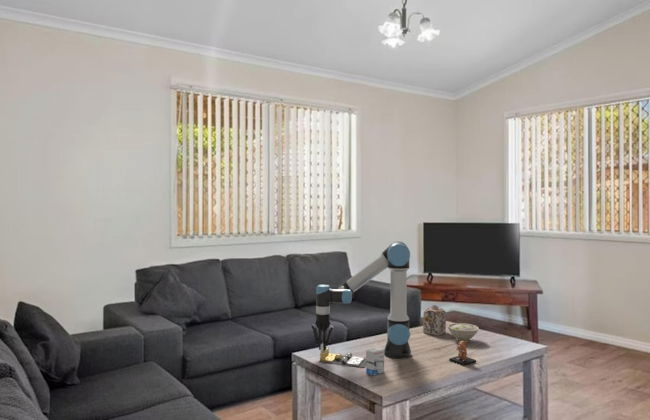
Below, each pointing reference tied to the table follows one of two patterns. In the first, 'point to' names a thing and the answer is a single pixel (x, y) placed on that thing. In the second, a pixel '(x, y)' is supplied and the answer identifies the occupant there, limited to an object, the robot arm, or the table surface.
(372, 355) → the ink box
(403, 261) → the robot arm
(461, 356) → the figurine
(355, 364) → the fixed leaf
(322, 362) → the grey two-tone fixture
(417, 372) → the table surface
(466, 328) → the bowl
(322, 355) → the loose leaf
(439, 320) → the decorative jar
